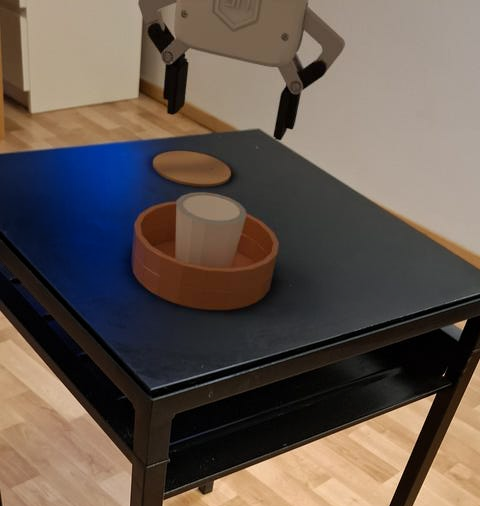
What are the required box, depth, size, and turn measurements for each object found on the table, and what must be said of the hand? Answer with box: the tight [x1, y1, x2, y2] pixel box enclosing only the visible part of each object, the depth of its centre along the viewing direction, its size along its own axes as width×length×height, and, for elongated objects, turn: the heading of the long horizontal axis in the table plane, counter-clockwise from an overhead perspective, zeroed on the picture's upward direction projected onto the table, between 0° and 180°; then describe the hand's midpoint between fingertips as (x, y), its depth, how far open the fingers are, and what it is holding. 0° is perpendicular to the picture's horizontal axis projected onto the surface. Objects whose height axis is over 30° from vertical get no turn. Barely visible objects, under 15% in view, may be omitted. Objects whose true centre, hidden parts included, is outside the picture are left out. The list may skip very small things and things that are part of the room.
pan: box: [130, 200, 280, 311], centre depth 74 cm, size 14×14×4 cm
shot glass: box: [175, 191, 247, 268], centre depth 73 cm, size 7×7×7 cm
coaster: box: [152, 150, 232, 188], centre depth 94 cm, size 10×10×1 cm
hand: (227, 122), depth 66 cm, fingers open, 9 cm apart
